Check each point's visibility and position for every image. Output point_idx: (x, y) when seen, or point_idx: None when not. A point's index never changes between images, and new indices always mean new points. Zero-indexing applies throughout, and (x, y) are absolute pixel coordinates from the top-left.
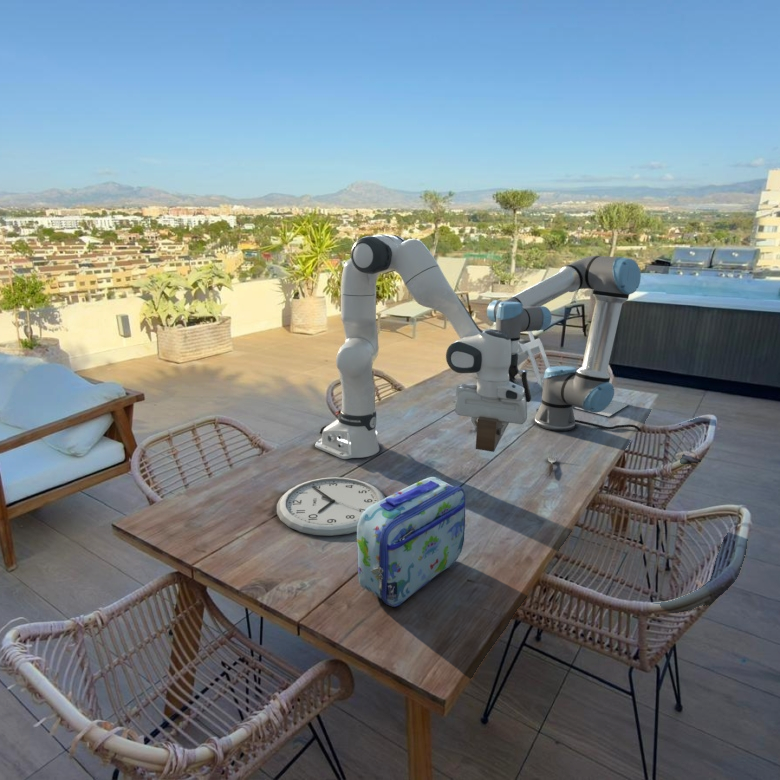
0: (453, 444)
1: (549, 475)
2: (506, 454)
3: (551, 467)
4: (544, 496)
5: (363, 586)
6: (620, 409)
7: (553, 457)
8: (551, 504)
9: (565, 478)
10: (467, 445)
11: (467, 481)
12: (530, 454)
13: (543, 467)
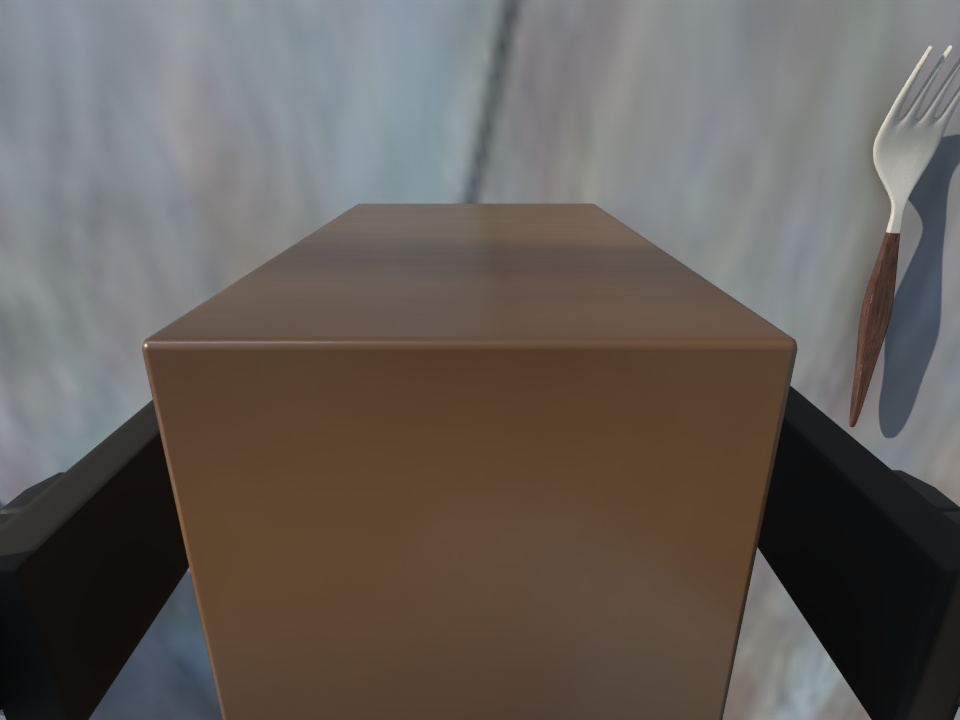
0: (74, 131)
1: (850, 426)
2: (535, 155)
3: (882, 313)
4: (790, 623)
5: None
6: None
7: (930, 110)
8: (817, 675)
9: (946, 390)
10: (186, 100)
11: None
12: (730, 65)
13: (819, 282)
